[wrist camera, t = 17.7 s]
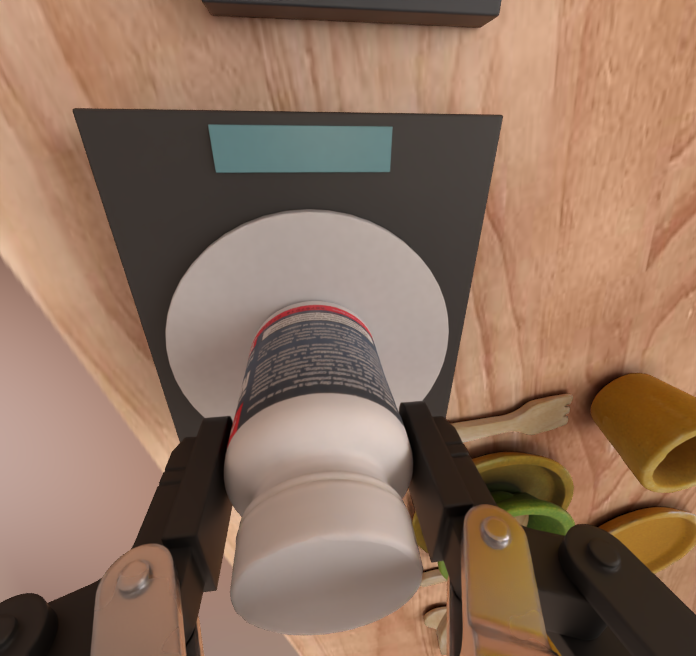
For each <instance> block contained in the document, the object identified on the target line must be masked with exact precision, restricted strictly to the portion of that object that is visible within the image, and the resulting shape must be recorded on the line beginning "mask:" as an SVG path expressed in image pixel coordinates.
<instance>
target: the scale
mask: <svg viewBox="0 0 696 656" xmlns="http://www.w3.org/2000/svg"><path fill="white" fill-rule="evenodd" d="M73 114H74V117H75V120H76V123H77V126H78V129H79V132H80V135H81V138H82V142H83V145H84V148H85V151H86V154H87V157H88V160H89V163H90V166H91V169H92V172H93V175H94V179H95V182H96V185H97V188H98V191H99V194H100V197H101V200H102V203H103V206H104V209H105V212H106V216H107V219H108V222H109V225H110V228H111V231H112V234H113V237H114V240H115V243H116V246H117V250H118V253H119V256H120V259H121V262H122V265H123V268H124V271H125V274H126V277H127V280H128V283H129V287H130V290H131V293H132V296H133V299H134V302H135V305H136V308H137V311H138V314H139V317H140V320H141V324H142V327H143V330H144V333H145V336H146V339H147V342H148V345H149V348H150V351H151V354H152V358H153V361H154V364H155V367H156V370H157V373H158V376H159V379H160V382H161V385H162V388H163V391H164V395H165V398H166V401H167V404H168V407H169V410H170V413H171V416H172V419H173V422H174V425H175V428H176V432H177V435H178V438H179V441H180V443H181V441H182V440H183V439H184V438H185V437H196V436H197V434H198V432H199V429H200V426H201V423H202V421H203V419H204V418H209V417H221V416H231V418H232V421H234V417H235V413H236V409H237V405H238V400H239V396H240V392H241V388H242V383H243V379H244V375H245V370H246V366H247V362H248V358H249V353H250V349H251V345H252V342H253V339H254V337H255V335H256V333H257V331H258V330H259V328H260V327H261V325H262V324H263V323H264V322H265V321H266V320H267V319H268V318H269V317H270V316H272V315H273V314H274V313H276V312H277V311H279V310H281V309H283V308H285V307H287V306H289V305H292V304H296V303H300V302H306V301H323V302H330V303H334V304H337V305H340V306H342V307H345V308H347V309H349V310H350V311H352V312H353V313H355V314H356V315H357V316H358V317H359V318H360V319H361V320H362V321H363V322H364V323H365V324H366V326H367V327H368V329H369V331H370V332H371V335H372V337H373V340H374V342H375V346H376V349H377V352H378V355H379V358H380V361H381V364H382V367H383V370H384V373H385V377H386V380H387V382H388V385H389V388H390V390H391V393H392V396H393V398H394V401H395V404H396V406H397V409H398V412H399V406H400V403H401V402H414V401H424V402H425V403H426V404H427V406H428V409H429V411H430V413H431V415H432V417H434V416H443V417H444V418H445V419H446V414H447V408H448V403H449V398H450V393H451V387H452V382H453V377H454V372H455V366H456V361H457V356H458V351H459V345H460V340H461V335H462V329H463V324H464V319H465V314H466V308H467V303H468V298H469V293H470V287H471V282H472V277H473V272H474V266H475V261H476V256H477V251H478V245H479V240H480V235H481V230H482V224H483V219H484V214H485V209H486V203H487V198H488V193H489V187H490V182H491V177H492V172H493V166H494V161H495V156H496V151H497V145H498V140H499V135H500V130H501V124H502V119H503V116H502V115H481V114H416V113H351V112H286V111H221V110H157V109H92V108H74V109H73Z"/></svg>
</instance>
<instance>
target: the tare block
mask: <svg viewBox="0 0 696 656" xmlns="http://www.w3.org/2000/svg"><path fill="white" fill-rule="evenodd" d="M201 1H202V2H203V4H204V5H205V7H206V8H207V10H208V11H209V12H210V14H211V15H216V16H239V17H261V18H284V19H306V20H328V21H351V22H373V23H395V24H418V25H440V26H462V27H482V26H483V25H485V24H486V23H488V22H490V21H491V20H493V19H494V18H496V17H497V16H498V15H499V12H500V6H501V0H201Z"/></svg>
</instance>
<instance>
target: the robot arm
mask: <svg viewBox="0 0 696 656" xmlns="http://www.w3.org/2000/svg"><path fill="white" fill-rule="evenodd" d="M399 414H400V416H401V419H402V422H403V425H404V427H405V430H406V433H407V436H408V439H409V442H410V445H411V449H412V454H413V474H412V478H411V482H410V485H409V487H408V488H409V491H410V495H411V498H412V501H413V504H414V508H415V511H416V514H417V517H418V520H419V524H420V527H421V530H422V533H423V537H424V540H425V543H426V546H427V549H428V553H429V556H430V559H431V562H439V561H444V564H445V567H446V569H447V572H448V575H449V576H448V580H447V646H446V656H559V655H558V654H557V653H556V652H554V651H553V650H552V649H551V647H550V645H549V642H548V639H547V635H548V637H549V638H550V640H551V641H552V642H553V644H554V645H555V647H556V648H557V650H558V651H559V653H560V654H561V656H696V615H695V614H694V613H693V612H692V611H691V610H690V609H689V608H688V607H687V606H686V605H685V604H684V603H683V602H682V601H681V600H680V599H679V598H678V597H677V596H676V595H675V594H674V593H673V592H672V591H671V590H670V589H669V588H668V587H667V586H666V585H665V584H664V583H663V582H662V581H661V580H660V579H659V578H658V577H657V576H656V575H655V574H654V573H653V572H652V571H651V570H650V569H649V568H648V567H646V566H645V565H644V564H643V563H642V562H641V561H640V560H639V559H638V558H637V557H636V556H635V555H634V554H633V553H632V552H631V551H630V550H629V549H628V548H627V547H626V546H625V545H624V544H623V543H622V542H621V541H620V540H618V539H617V538H616V537H614V536H613V535H612V534H610V533H608V532H607V531H605V530H603V529H601V528H598V527H595V526H592V525H586V524H579V525H575V526H573V527H571V528H570V529H569V530H568V531H567V533H566V535H565V536H564V535H559V534H554V533H550V532H545V531H540V530H535V529H532V528H528V527H525V526H523V525H521V524H520V523H519V522H518V521H517V520H516V519H515V518H514V517H513V516H512V515H511V514H509V513H508V512H506V511H505V510H503V509H501V508H499V507H498V505H497V504H496V502H495V501H494V499H493V497H492V495H491V493H490V492H489V490H488V488H487V486H486V484H485V482H484V480H483V479H482V477H481V475H480V473H479V471H478V469H477V467H476V466H475V464H474V462H473V460H472V458H471V456H469V453H468V451H467V449H466V447H465V445H464V444H463V443H462V440H461V438H460V436H459V434H458V432H457V430H456V428H455V427H454V426H453V425H452V424H451V423H450V422H448V421H447V420H446V419H445V418H444V417H443V416H434V417H432V415H431V413H430V411H429V409H428V406H427V404H426V403H425V402H424V401H414V402H401V403H400V406H399ZM232 425H233V421H232V418H231V416H221V417H209V418H204V419H203V421H202V423H201V426H200V429H199V432H198V434H197V436H196V437H185V438H184V439H183V440H182V441H181V443H180V444H179V445H178V446H177V447H176V448H175V449H174V450H173V451H172V453H171V455H170V458H169V460H168V463H167V465H166V468H165V472H163V475H162V477H161V480H160V482H159V486H158V487H157V490H156V492H155V494H154V497H153V499H152V502H151V504H150V506H149V509H148V512H147V514H146V516H145V519H144V521H143V524H142V526H141V528H140V531H139V533H138V536H137V538H136V541H135V543H134V545H133V547H132V548H131V550H130V551H128V552H127V553H125V554H123V556H121V557H120V558H118V559H117V560H116V561H115V562H114V563H113V564H112V565H111V566H110V568H109V569H108V570H107V571H106V573H105V575H104V576H103V577H102V578H101V579H99V580H98V581H96V582H94V583H92V584H90V585H88V586H86V587H83V588H81V589H79V590H77V591H74V592H72V593H70V594H67V595H65V596H63V597H60V598H58V599H56V600H54V601H51V602H49V603H47V602H46V601H45V600H44V599H43V597H41V596H39V595H38V594H34V593H26V594H20V595H17V596H14V597H11V598H9V599H7V600H5V601H3V602H1V603H0V656H204V651H203V644H202V637H201V629H200V621H199V617H198V613H199V609H200V604H201V599H202V595H203V592H208V591H216V590H217V585H218V580H219V574H220V569H221V563H222V558H223V553H224V548H225V542H226V537H227V532H228V526H229V521H230V515H231V510H232V503H231V502H230V500H229V498H228V495H227V492H226V489H225V483H224V463H225V455H226V451H227V445H228V441H229V437H230V432H231V429H232ZM546 634H547V635H546Z"/></svg>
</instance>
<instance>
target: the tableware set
mask: <svg viewBox="0 0 696 656" xmlns="http://www.w3.org/2000/svg"><path fill="white" fill-rule="evenodd" d="M572 399H573V396H572V395H571V394H561V395H556V396H550V397H545V398H540V399H535V400H532V401H530V402H527V403H526V404H525V405H523V406H522V407H521V408H519V409H517V410H516V411H514V412H512V413H509V414H506V415H502V416H496V417H489V418H483V419H477V420H471V421H464V422H457V423H451V424H452V425H453V426H454V427H455V428H456V430H457V432H458V434H459V436H460V438H461V440H462V443H464V442H468V441H472V440H477V439H481V438H485V437H489V436H493V435H497V434H501V433H506V432H514V431H516V432H521V433H523V434H527V435H535V434H538V433H541V432H545V431H549V430H552V429H555V428H558V427H560V426H563V425H565V424H567V421H568V416H566V414H568V413H569V411H570V407H569V406H566V405H568V404H570V403H571V401H572ZM591 416H592V418H593V420H594V422H595V423H596V424H597V426H598V427H599V428H600V430H601V431H602V432H603V434H604V435H605V436H606V438H607V439H608V440H609V442H610V443H611V444H612V446H613V447H614V448H615V449H616V451H617V452H618V453H619V455H620V456H621V458H622V459H623V461H624V462H625V463H626V465H627V466H628V467H629V469H630V470H631V471H632V473H633V474H634V475H635V477H636V478H637V479H638V481H639V482H640V483H641V484H642V485H643V486H644V487H645V488H646V489H648V490H650V491H653V492H659V493H673V492H676V491H680V490H684V489H687V488H691V487H694V486H696V397H694V396H692V395H690V394H688V393H686V392H684V391H682V390H679V389H677V388H675V387H673V386H671V385H669V384H667V383H665V382H663V381H661V380H659V379H657V378H655V377H653V376H651V375H648V374H642V373H631V374H627V375H624V376H621V377H619V378H617V379H615V380H613V381H612V382H610V383H609V384H608V385H606V386H605V387H604V388H603V389H602V390H601V391H600V392H599V393H598V394H597V395H596V397H595V399H594V400H593V402H592V405H591ZM472 460H473V462H474V464H475V466H476V467H477V469H478V471H479V473H480V475H481V477H482V479H483V480H484V482H485V484H486V486H487V488H488V490H489V492H490V493H491V495H492V497H493V499H494V501H495V502H496V504H497V505H498V507H499V508H501V509H503V510H505V511H506V512H508V513H509V514H511V515H512V516H513V517H514V518H515V519H516V520H517V521H518V522H519V523H520V524H521V525H523V526H525V527H528V528H532V529H535V530H540V531H545V532H550V533H554V534H559V535H564V536H565V535H566V533H567V531H568V530H569V529H570V528H571V527H573V526H575V523H574V520H573V519H572V517H571V516H570V514H569V513H568V512H567V511H566V510H567V508H568V506H569V504H570V502H571V500H572V496H573V489H574V485H573V481H572V477H571V475H570V474H569V472H568V471H567V470H566V469H565V467H563V466H562V465H561V464H559V463H558V462H556V461H554V460H551V459H549V458H546V457H543V456H539V455H532V454H527V453H520V452H499V453H493V454H488V455H484V456H481V457H477V458H474V459H472ZM412 525H413V529H414V533H415V537H416V541H417V544H418V545H419V547H420V548H422V549H423V550H424V551H425V552H427V553H428V549H427V546H426V543H425V540H424V537H423V533H422V530H421V527H420V524H419V520H418V517H417V514H416V511H415V513H414V517H413V521H412ZM598 528H601V529H603V530H605V531H607V532H608V533H610V534H612V535H613V536H614V537H616V538H617V539H618V540H620V541H621V542H622V543H623V544H624V545H625V546H626V547H627V548H628V549H629V550H630V551H631V552H632V553H633V554H634V555H635V556H636V557H637V558H638V559H639V560H640V561H641V562H642V563H643V564H644V565H645V566H646V567H648V568H649V569H650V570H651V571H652V572H653V573H654V574H656V573H657V572H659V571H661V570H663V569H665V568H667V567H669V566H670V565H672V564H673V563H675V562H676V561H678V560H680V559H681V558H682V557H684V556H685V555H686V554H687V553H688V552H689V551H690V550H691V549H692V548H693V547H694V546H695V545H696V515H695V514H692V513H689V512H686V511H683V510H677V509H673V508H668V507H652V508H646V509H641V510H636V511H633V512H630V513H627V514H624V515H621V516H619V517H617V518H615V519H612V520H610V521H608V522H607V523H605V524H603V525H601V526H599V527H598ZM438 567H439V569H436V570H432V571H428V572H424V573H423V574H422V581H421V583H420V586H422V587H427V586H431V585H435V584H439V583H443V582H447V580H448V576H449V575H448V572H447V569H446V567H445V564H444V561H439V562H438ZM424 622H425V625H426V626H428V627H429V628H434V629H437V631H436V632H437V636H438V643H439V648H440V652H441V654H442V655H446V646H447V607H439V608H435V609H433V610H430V611H429V612H427V613H426V614H425V615H424ZM546 635H547V634H546ZM547 639H548V642H549V645H550V647H551V649H552V650H553V651H554V652H556V653H557V654H558V655H559V656H561V654H560V653H559V651H558V650H557V648H556V647H555V645H554V644H553V642H552V641H551V640H550V638H549V637H548V635H547Z"/></svg>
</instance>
